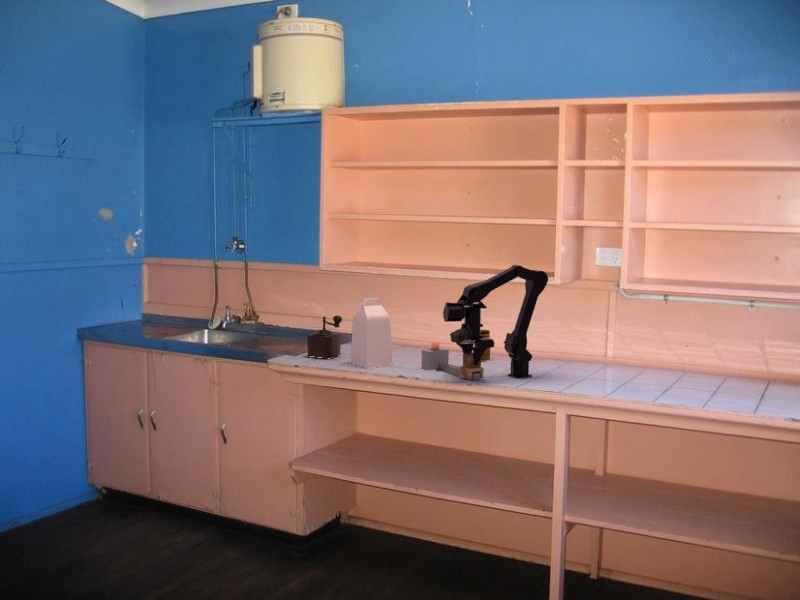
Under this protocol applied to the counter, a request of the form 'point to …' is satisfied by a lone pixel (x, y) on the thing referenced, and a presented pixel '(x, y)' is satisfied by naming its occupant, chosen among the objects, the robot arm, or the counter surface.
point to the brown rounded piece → (434, 346)
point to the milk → (371, 335)
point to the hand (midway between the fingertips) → (471, 364)
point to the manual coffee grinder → (325, 341)
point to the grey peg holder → (434, 358)
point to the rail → (455, 370)
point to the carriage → (470, 366)
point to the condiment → (487, 352)
